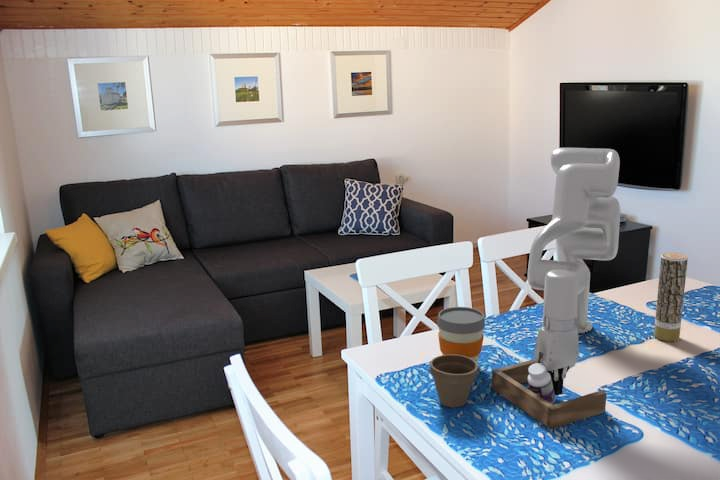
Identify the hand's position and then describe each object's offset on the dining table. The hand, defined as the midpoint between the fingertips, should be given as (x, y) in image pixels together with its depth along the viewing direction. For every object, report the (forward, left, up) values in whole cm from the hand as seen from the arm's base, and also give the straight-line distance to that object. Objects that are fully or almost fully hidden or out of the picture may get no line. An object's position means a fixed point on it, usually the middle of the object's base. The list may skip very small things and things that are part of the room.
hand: (555, 392), depth 160 cm
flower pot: (-10, -22, -2) cm, 25 cm away
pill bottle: (0, -4, -1) cm, 4 cm away
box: (0, -2, -2) cm, 3 cm away
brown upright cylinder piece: (-12, +53, -2) cm, 54 cm away
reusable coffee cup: (-25, -10, -2) cm, 28 cm away
